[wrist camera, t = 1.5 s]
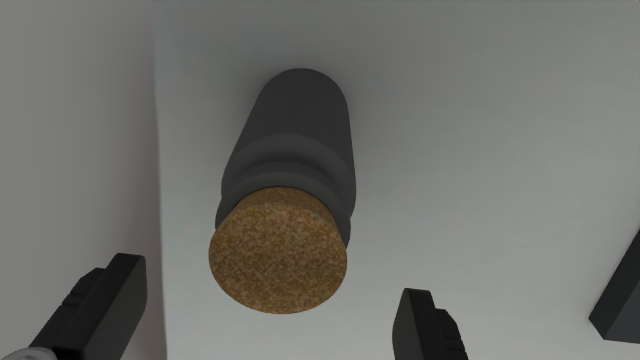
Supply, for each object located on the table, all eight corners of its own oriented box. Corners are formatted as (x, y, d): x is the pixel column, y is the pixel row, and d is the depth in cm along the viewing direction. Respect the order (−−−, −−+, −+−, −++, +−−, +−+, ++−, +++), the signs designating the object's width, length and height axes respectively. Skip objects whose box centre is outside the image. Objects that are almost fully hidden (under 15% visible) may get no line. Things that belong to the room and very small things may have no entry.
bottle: (365, 127, 28) (395, 287, 15) (289, 169, 30) (257, 348, 17) (316, 48, 26) (302, 156, 13) (237, 99, 28) (153, 240, 15)
